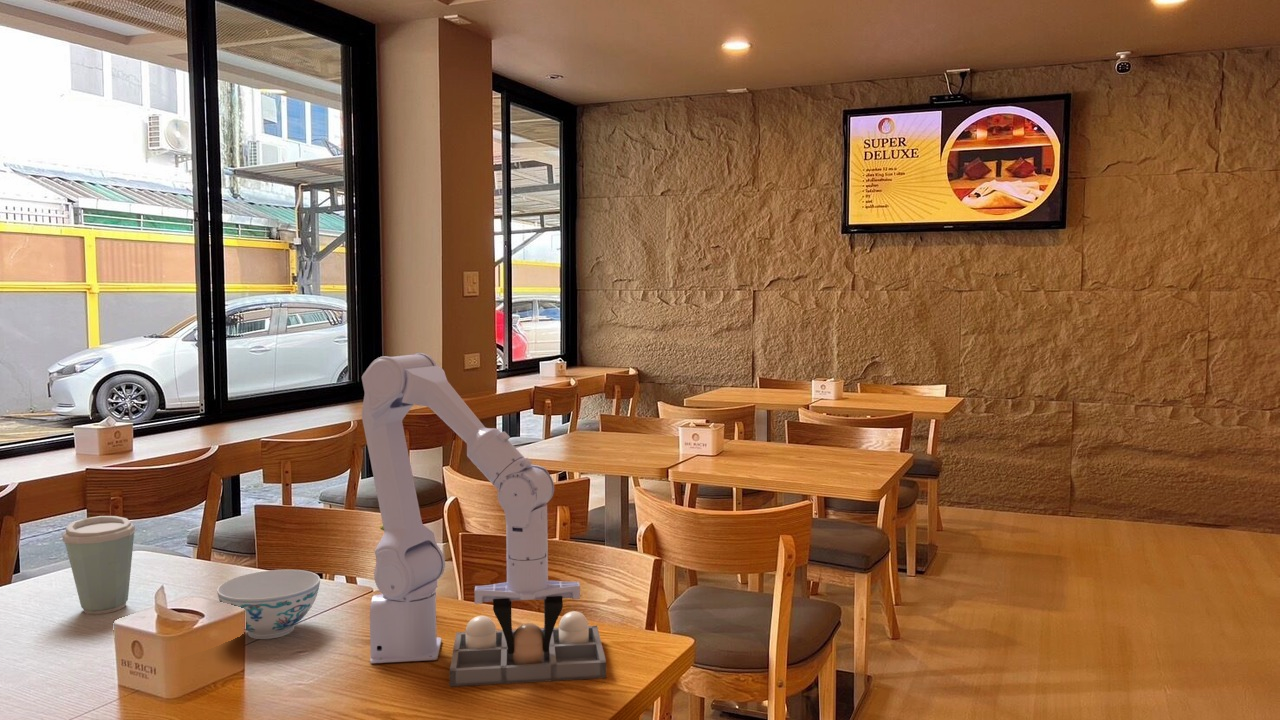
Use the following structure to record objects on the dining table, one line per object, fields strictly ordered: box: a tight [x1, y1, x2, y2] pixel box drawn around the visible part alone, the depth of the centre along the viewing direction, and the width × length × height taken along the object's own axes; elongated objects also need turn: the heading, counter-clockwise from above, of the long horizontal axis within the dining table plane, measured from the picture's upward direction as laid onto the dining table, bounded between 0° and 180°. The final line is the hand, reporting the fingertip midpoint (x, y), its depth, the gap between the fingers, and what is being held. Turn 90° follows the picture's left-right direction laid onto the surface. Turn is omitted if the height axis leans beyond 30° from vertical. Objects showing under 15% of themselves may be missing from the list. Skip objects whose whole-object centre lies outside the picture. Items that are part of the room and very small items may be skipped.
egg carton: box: [449, 610, 607, 688], centre depth 133 cm, size 21×14×6 cm
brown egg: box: [513, 622, 544, 665], centre depth 130 cm, size 4×4×5 cm
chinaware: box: [216, 569, 321, 640], centre depth 146 cm, size 15×15×8 cm
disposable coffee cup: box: [61, 515, 137, 615], centre depth 156 cm, size 11×11×15 cm
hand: (528, 650), depth 130 cm, fingers closed on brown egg, 4 cm apart
